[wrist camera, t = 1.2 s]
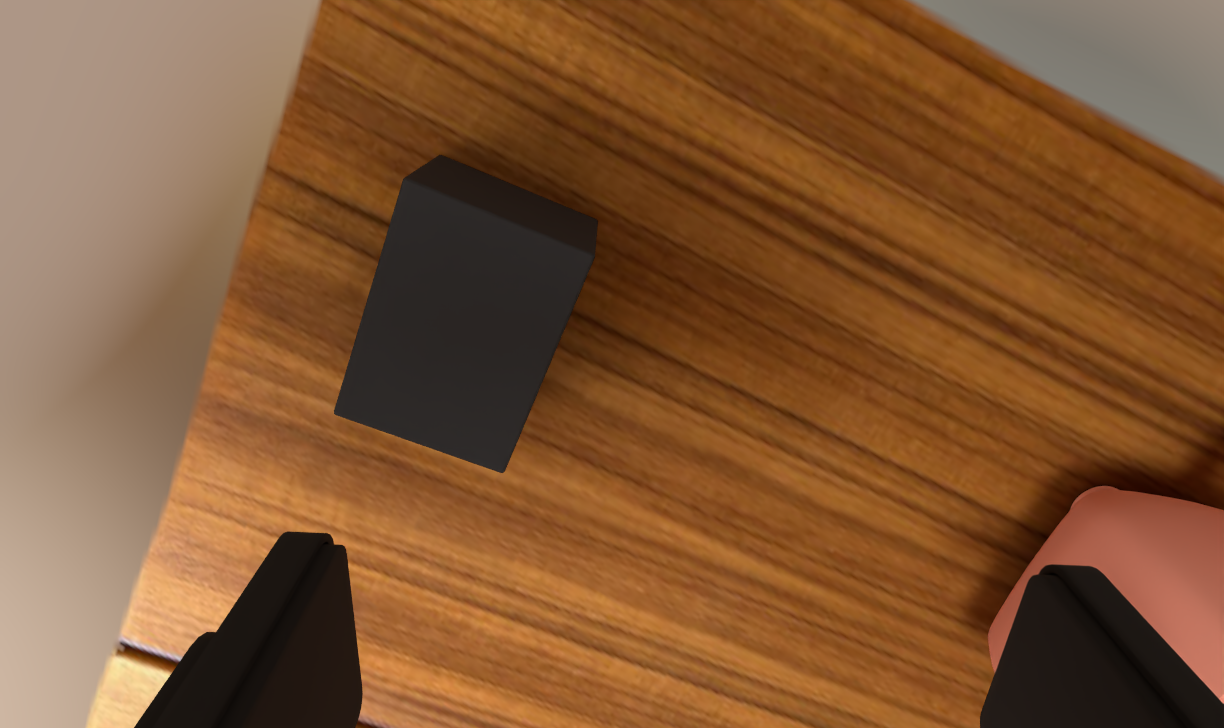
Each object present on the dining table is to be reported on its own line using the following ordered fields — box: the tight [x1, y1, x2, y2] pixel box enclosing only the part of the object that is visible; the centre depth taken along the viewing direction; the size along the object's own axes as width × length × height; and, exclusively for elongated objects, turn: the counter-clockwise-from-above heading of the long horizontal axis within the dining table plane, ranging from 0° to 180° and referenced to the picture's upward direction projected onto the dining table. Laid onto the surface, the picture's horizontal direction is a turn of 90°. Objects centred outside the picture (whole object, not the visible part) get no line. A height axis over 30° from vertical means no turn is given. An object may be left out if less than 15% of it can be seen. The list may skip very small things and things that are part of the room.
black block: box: [334, 155, 598, 473], centre depth 21 cm, size 5×7×4 cm
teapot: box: [988, 486, 1224, 704], centre depth 23 cm, size 12×12×10 cm
